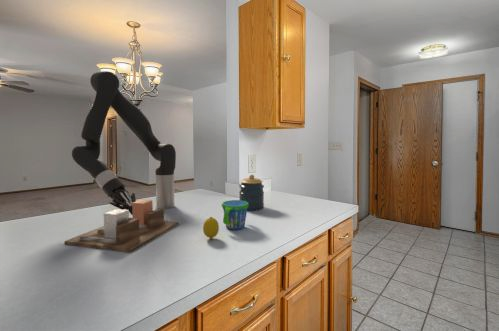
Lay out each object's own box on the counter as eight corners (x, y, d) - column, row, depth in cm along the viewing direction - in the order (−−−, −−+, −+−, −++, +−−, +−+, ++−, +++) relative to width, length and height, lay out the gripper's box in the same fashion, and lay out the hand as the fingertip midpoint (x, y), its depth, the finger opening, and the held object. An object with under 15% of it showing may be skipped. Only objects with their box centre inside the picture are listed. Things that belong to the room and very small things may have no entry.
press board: (64, 244, 91) (63, 223, 90) (126, 219, 120) (125, 203, 119) (131, 252, 85) (130, 230, 84) (179, 224, 113) (178, 207, 113)
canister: (268, 207, 144) (268, 174, 142) (255, 212, 133) (255, 177, 131) (247, 204, 150) (247, 172, 149) (234, 209, 140) (234, 175, 138)
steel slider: (104, 239, 92) (103, 213, 91) (117, 233, 97) (116, 209, 97) (117, 240, 90) (116, 214, 90) (129, 234, 96) (128, 210, 95)
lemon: (206, 242, 93) (206, 220, 92) (201, 237, 98) (201, 215, 97) (221, 240, 96) (221, 217, 95) (215, 235, 101) (215, 214, 100)
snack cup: (235, 235, 100) (235, 208, 100) (212, 230, 106) (212, 205, 105) (255, 224, 114) (256, 200, 113) (235, 220, 119) (235, 197, 118)
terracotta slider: (132, 225, 107) (132, 202, 107) (142, 220, 113) (141, 199, 112) (143, 226, 106) (143, 203, 105) (152, 221, 112) (152, 200, 111)
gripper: (102, 179, 105) (130, 212, 103) (126, 175, 118) (151, 204, 116) (92, 192, 107) (119, 225, 105) (116, 186, 119) (141, 216, 117)
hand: (136, 214), depth 110 cm, fingers closed
